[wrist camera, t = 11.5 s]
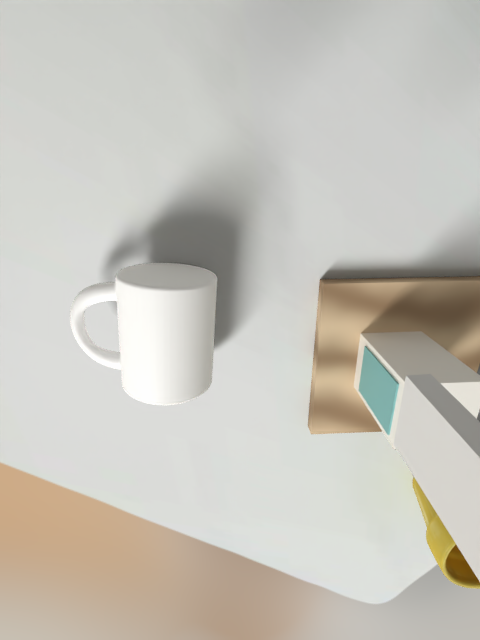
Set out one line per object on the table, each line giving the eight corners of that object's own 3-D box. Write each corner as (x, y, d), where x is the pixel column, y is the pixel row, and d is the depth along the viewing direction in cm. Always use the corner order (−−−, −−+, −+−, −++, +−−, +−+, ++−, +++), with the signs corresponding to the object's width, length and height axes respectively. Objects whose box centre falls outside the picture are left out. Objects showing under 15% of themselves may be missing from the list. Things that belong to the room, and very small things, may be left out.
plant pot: (397, 514, 45) (442, 598, 36) (394, 455, 41) (443, 533, 32) (476, 499, 44) (541, 580, 35) (481, 438, 41) (555, 512, 32)
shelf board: (319, 279, 32) (330, 290, 29) (505, 275, 33) (536, 285, 30) (307, 425, 39) (315, 447, 35) (463, 419, 39) (485, 440, 36)
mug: (218, 265, 31) (216, 291, 24) (213, 360, 35) (210, 408, 28) (84, 256, 31) (39, 280, 23) (93, 355, 34) (57, 403, 27)
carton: (352, 386, 35) (392, 449, 27) (359, 333, 33) (405, 384, 25) (412, 384, 35) (470, 446, 27) (422, 331, 33) (489, 381, 25)
